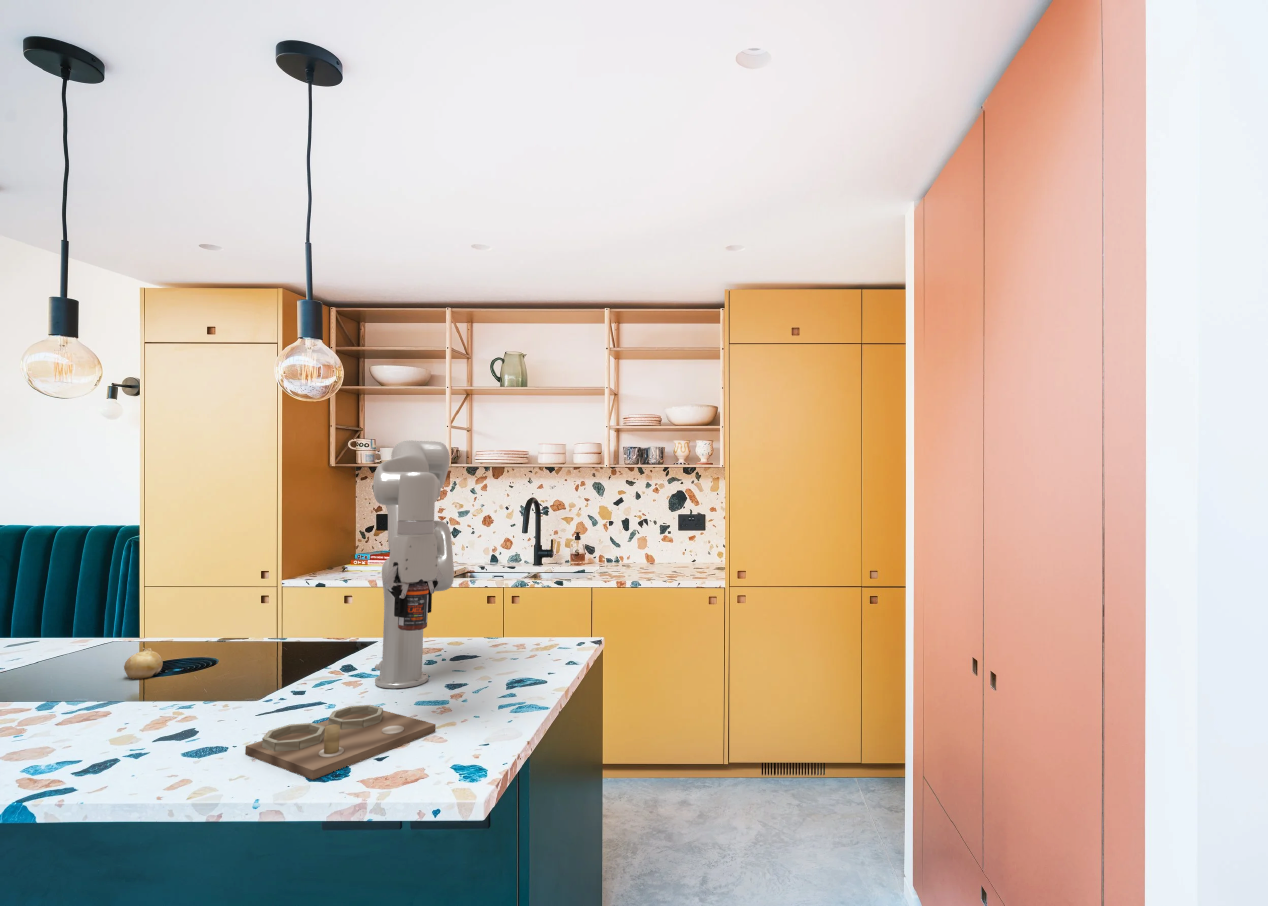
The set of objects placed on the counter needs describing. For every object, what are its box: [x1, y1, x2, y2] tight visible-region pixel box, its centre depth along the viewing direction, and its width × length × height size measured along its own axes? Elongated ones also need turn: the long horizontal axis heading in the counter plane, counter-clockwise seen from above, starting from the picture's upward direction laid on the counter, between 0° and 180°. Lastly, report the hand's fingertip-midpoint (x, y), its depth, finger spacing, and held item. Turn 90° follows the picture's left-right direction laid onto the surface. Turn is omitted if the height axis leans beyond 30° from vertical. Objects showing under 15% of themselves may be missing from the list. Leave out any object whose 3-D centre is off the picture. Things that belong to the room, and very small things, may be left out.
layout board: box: [244, 704, 437, 780], centre depth 123 cm, size 20×26×6 cm
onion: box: [123, 647, 164, 680], centre depth 166 cm, size 8×8×7 cm
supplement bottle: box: [398, 579, 429, 631], centre depth 139 cm, size 6×6×11 cm
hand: (413, 613), depth 138 cm, fingers closed on supplement bottle, 6 cm apart
